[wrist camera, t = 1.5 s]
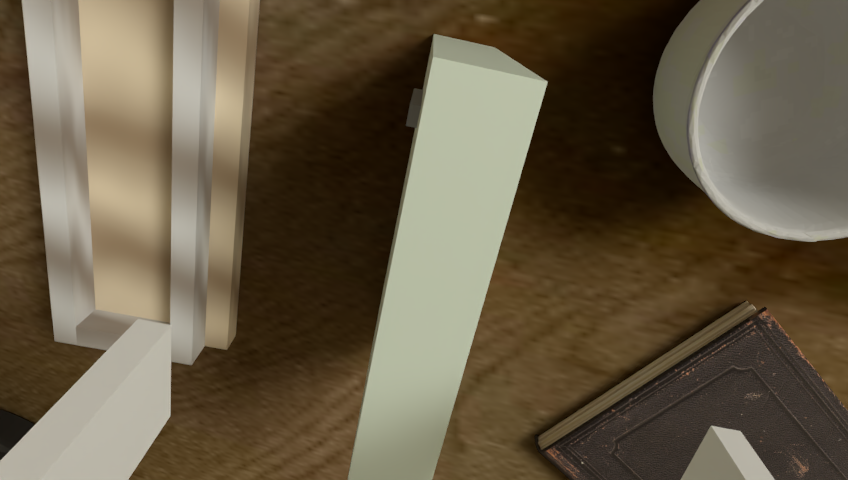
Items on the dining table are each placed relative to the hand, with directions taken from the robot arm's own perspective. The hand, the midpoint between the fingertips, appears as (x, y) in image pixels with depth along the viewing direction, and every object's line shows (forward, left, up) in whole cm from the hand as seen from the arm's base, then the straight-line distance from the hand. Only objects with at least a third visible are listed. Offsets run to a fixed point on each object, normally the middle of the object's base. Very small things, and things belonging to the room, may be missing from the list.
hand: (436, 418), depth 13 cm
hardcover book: (+15, -24, -18) cm, 33 cm away
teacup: (+16, +4, -17) cm, 24 cm away
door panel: (0, 0, -17) cm, 17 cm away
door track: (-14, +6, -17) cm, 23 cm away
